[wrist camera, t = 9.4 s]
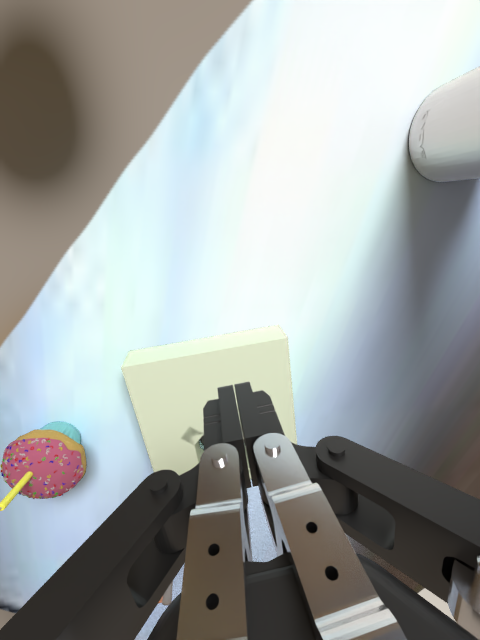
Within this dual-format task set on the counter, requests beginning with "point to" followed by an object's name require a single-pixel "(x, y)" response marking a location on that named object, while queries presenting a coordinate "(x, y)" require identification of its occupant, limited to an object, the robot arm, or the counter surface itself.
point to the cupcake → (44, 462)
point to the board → (203, 390)
